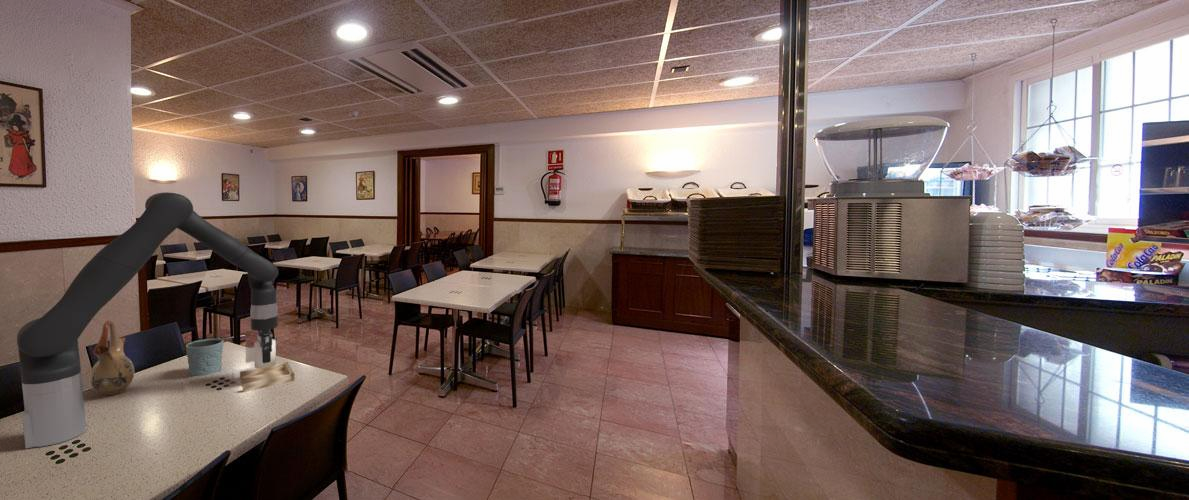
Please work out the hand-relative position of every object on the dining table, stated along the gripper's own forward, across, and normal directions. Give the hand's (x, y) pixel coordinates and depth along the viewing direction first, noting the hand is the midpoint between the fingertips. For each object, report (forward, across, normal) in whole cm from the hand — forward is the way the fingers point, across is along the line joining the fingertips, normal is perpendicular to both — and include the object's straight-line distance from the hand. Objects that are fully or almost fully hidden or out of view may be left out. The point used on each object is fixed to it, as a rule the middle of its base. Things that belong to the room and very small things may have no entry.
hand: (265, 359), depth 141 cm
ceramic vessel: (+9, -21, -37) cm, 44 cm away
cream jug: (+2, 0, -1) cm, 2 cm away
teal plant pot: (+9, -23, -15) cm, 29 cm away
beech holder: (+8, 0, 0) cm, 8 cm away
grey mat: (+8, -12, -3) cm, 15 cm away
